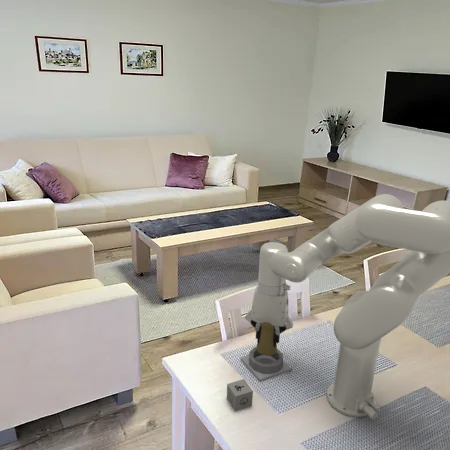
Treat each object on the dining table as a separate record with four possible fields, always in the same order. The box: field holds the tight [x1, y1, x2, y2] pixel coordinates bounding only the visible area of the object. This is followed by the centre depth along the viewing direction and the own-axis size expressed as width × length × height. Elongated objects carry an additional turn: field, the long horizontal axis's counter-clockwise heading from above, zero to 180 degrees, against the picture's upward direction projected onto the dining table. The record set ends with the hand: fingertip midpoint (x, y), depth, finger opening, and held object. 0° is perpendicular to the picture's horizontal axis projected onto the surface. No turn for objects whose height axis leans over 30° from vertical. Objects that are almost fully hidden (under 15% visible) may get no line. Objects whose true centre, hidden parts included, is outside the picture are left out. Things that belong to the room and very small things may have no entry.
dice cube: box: [226, 378, 254, 413], centre depth 112 cm, size 5×5×5 cm
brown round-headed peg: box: [256, 322, 278, 355], centre depth 123 cm, size 6×6×11 cm
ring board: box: [239, 346, 293, 383], centre depth 126 cm, size 11×11×4 cm
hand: (267, 342), depth 124 cm, fingers closed on brown round-headed peg, 4 cm apart
